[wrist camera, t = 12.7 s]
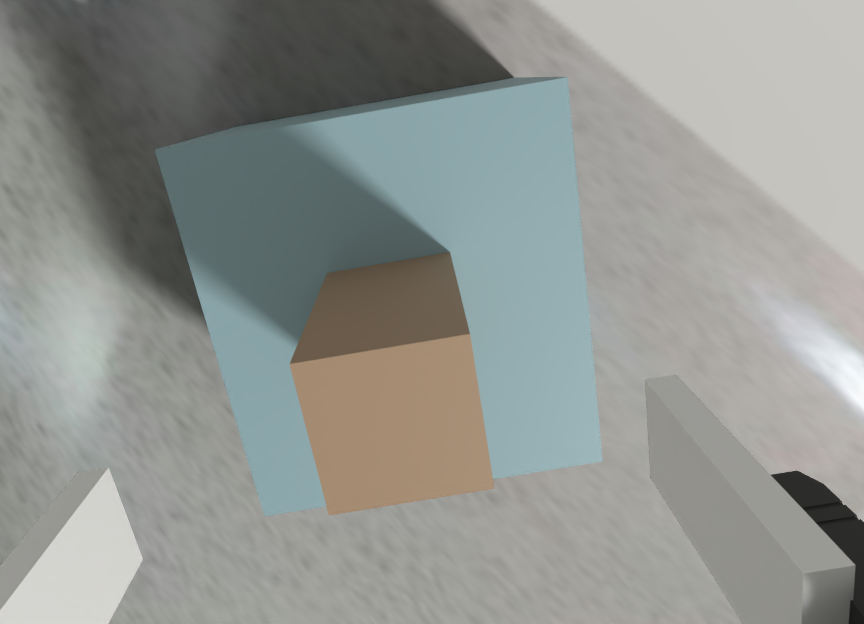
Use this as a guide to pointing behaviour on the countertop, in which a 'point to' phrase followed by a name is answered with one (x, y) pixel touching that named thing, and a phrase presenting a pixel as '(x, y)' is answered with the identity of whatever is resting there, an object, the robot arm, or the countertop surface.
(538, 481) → the countertop surface
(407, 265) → the pale blue storage box
